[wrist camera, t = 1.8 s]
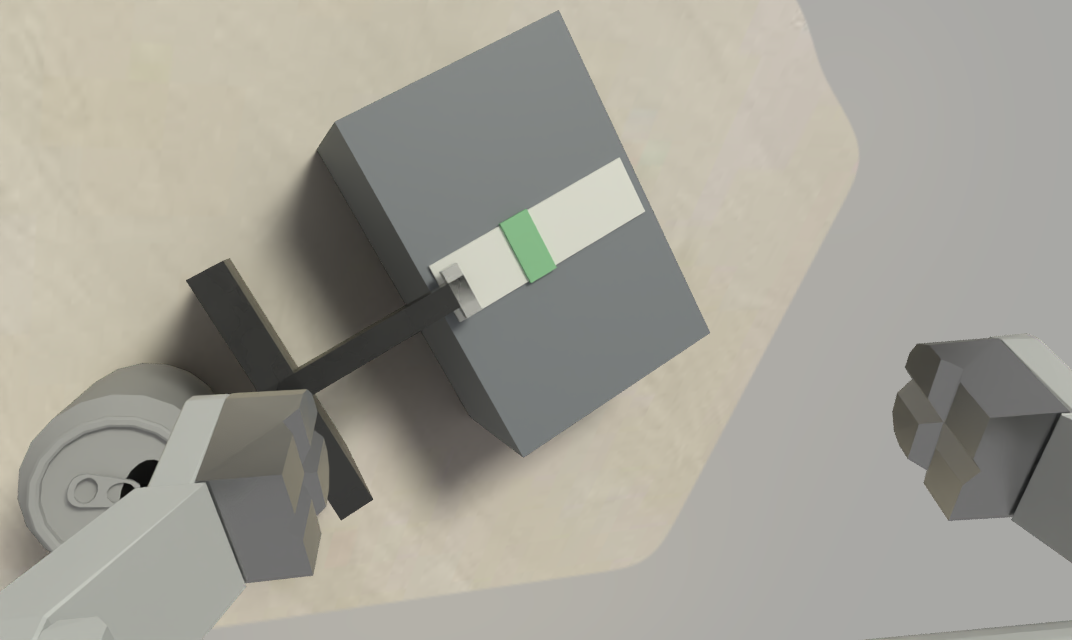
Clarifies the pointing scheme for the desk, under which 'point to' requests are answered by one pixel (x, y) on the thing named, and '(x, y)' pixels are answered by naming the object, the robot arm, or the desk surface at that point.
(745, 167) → the desk surface
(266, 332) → the gauge plunger
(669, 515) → the desk surface
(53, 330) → the desk surface
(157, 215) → the desk surface
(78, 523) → the can
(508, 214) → the gauge housing
